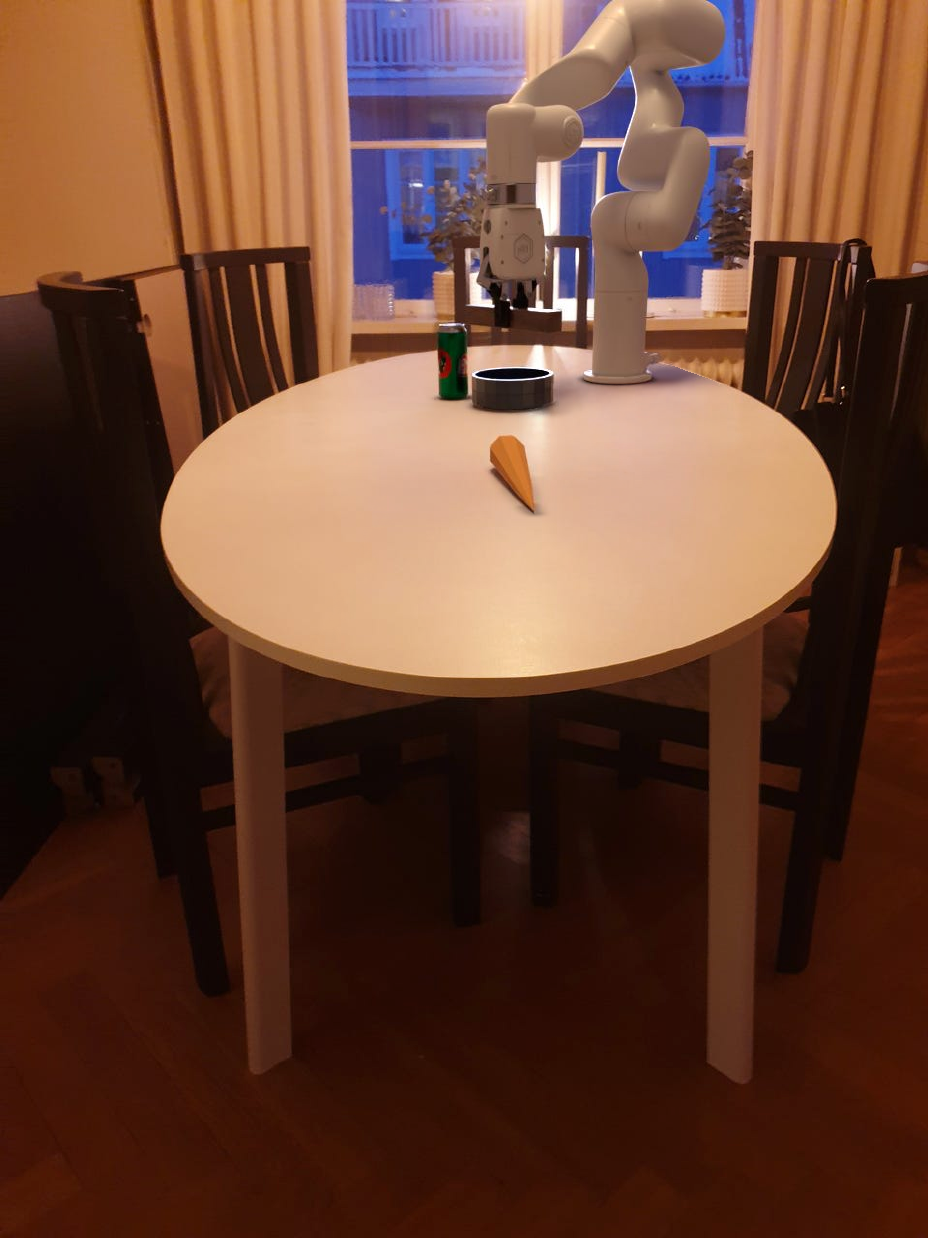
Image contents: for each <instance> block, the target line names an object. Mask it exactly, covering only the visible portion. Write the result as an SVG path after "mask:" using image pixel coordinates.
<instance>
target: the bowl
mask: <svg viewBox="0 0 928 1238" xmlns="http://www.w3.org/2000/svg"><path fill="white" fill-rule="evenodd" d="M554 375H555V373H554V372H553V371H551V370H549V369H545V368H540V367H529V368H527V366H514V367H511V366H510V367H494V368H493V367H492V368H486V369H481V370H476V371H474V372H472V373H471V402H472V404H473V405H475V406H478V407H480V408H481V409H484V410H490V411H497V412H521V411H523V412H524V411H532V410H538V409H541V408H543V407H545V406H547V405H549V404H552V403H553V402H554V387H555V385H554V383H555V382H554V381H555V380H554V377H555V376H554Z"/></svg>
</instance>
